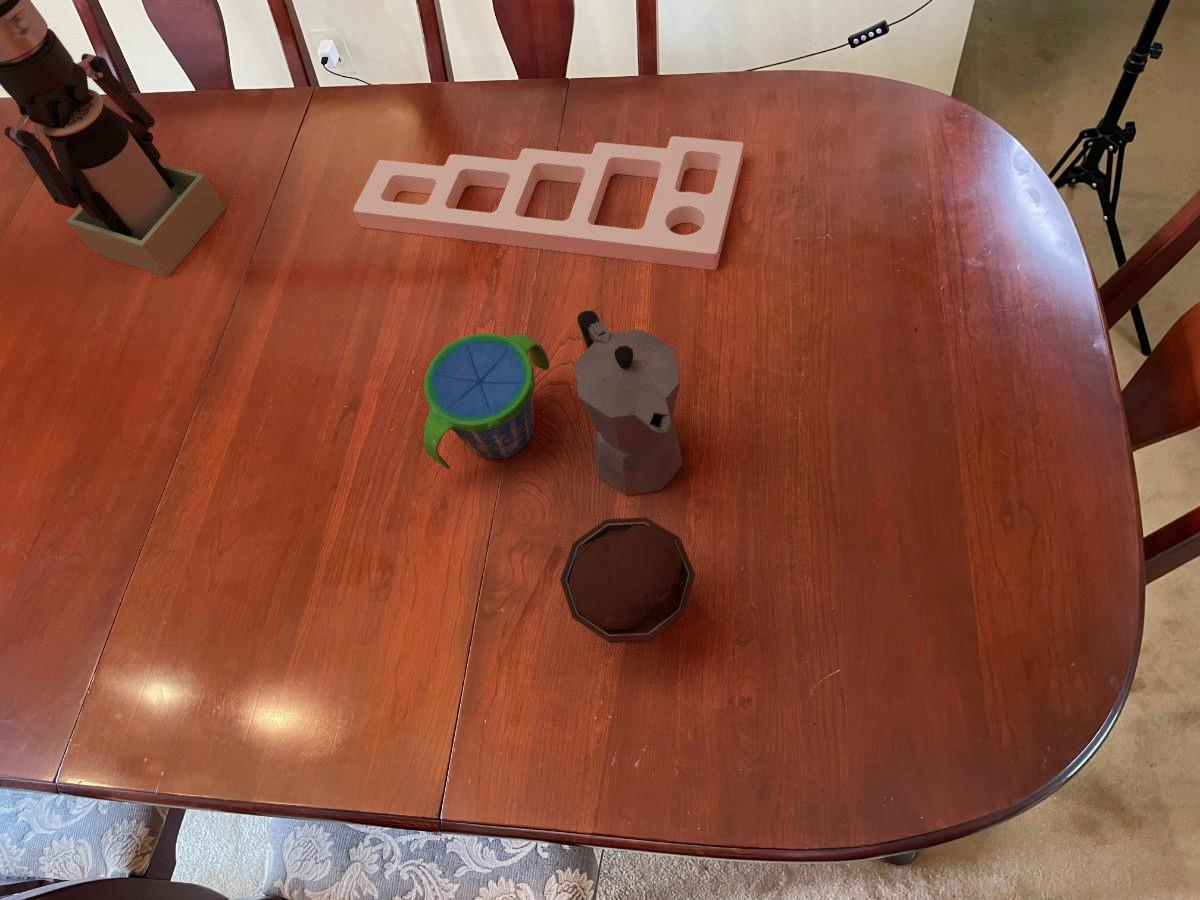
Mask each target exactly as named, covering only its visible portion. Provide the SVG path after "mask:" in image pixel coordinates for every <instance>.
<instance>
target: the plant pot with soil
mask: <svg viewBox="0 0 1200 900" xmlns="http://www.w3.org/2000/svg"><path fill="white" fill-rule="evenodd" d="M695 576H696V572H695V570H694V567H693V565H692V563H691V560H690V558H689V556H688V553H687V551H686V548H685V546H684V544H683V541H682V538H681V537H680V536H678V535H676V534H675V533H673V532H672V531H669V530H668V529H666V528H665V527H663V526H661V525H660V524H658V523H656V522H655V521H653V520H652V519H650V518H648V517H627V518H625V517H624V518H610V519H609V518H607V519H604V520H603V521H601V522H600V523H599V524H597V525H596V526H594V527H593V528H591V529H590V530H589V531H587V532H586V533H585V534H583V535H582V536H580V537H579V538H578V539H577V540H575V541H573V542H572V545H571V548H570V551H569V554H568V556H567V559H566V561H565V565H564V568H563V570H562V573H561V575H560V579H559V581H560V584H561V587H562V591H563V593H564V596H565V600H566V602H567V606H568V609H569V611H570V615H571V618H572V619H573V620H575V621H576V622H577V623H579V624H581V625H582V626H583V627H585V628H586V629H588V630H590V632H592V633H594V634H596V635H597V636H599V637H600V638H601V639H603V640H604V641H606V642H608V643H609V644H623V643H628V644H629V643H647V642H648V643H649V642H652V641H653V640H654V639H656V638H657V637H658V636H660V635H661V634H662V633H664V632H665V631H666V630H667V629H669V628H670V627H671V626H672V625H673V624H675V623H676V622H678V621H679V620H680V619H682V618H683V616H684V615H685V613H686V609H687V605H688V601H689V598H690V593H691V591H692V587H693V584H694V581H695V580H694V579H695Z"/></svg>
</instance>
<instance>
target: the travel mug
mask: <svg viewBox="0 0 1200 900" xmlns="http://www.w3.org/2000/svg"><path fill="white" fill-rule="evenodd" d="M88 89H89V95H91V96H93V97H94V98H93V99H92V100H91V101H90V102H89V103H88V104H87V105H84V104H82V105H81V106H80V107H79V108H78V109H77V110H76V111H75V112H74V113H73V114H72V115H71V116H70V120H71V121H70V122H69V123H68V124H67V125H66V126H65V127H64V128H63V129H62V128H59V127H57V128H51V127H47V126H44V125H40V124H37V123H36V124H35V127H36V128H37V130H38V131H39V132H40V133H41V134H44V135H45V134H46V135H48V136H49V137H50V138H51V139H53V140H54V141H56V142H63V141H64V140H65V139H68V141H69V143H68V146H69V150H70V154H71V158H72V160H73V161H74V162H75V164H76V165H77V166H78V167H79V168H80V169H81V171H82V172H83V173H84V174H85V176H86V178H87V181H88V184H89V187H90V190H91V191H92V192H97V193H100V194H101V196H102V197H103V198H104V199H105V200H106V202H107V203H108V204H109V205H110V207H111V208H112V209H113V210H114V211H115V213H116V214H117V215H118V216H119V217H120V219H121V220H122V221H123V222H124V224H125V225H126V226H127V227H128V228H129V230H130V231H131V232H132V234H131V235H130V236H129V237H132V238H135V239H138V240H142V239H143V238H144V237H145V236H146V234H147V233H148V232H149V231H150V230H151V229H152V228H153V227H154V225H155V224H156V223H157V222H158V221H159V220H160V219H161V217H162V216H163V215H164V214H165V213H166V212H167V211H168V209H169V208H170V207H171V206H172V205H173V204H174V203H175V202H176V200H177V198H176V196H175V195H174V193H173V192H172V191H171V189H170V188H169V187H168V185H167V184H166V182H165V181H164V180H163V178H162V177H161V175H160V174H159V173H158V171H157V170H156V168H155V167H154V166H153V164H152V163H151V161H150V160H149V159H148V157H147V156H146V155H145V153H144V152H143V150H142V149H141V148H140V146H139V145H138V143H137V142H136V141H135V139H134V138H133V136H132V135H131V134H130V132H129V131H128V129H127V128H126V127H125V125H124V124H123V123H122V121H121V120H120V118H119V117H118V116H117V115H116V114H114V113H112V112H110V111H108V110H106V109H105V107H104V106H103V103H104V100H103V97H102V95H100V93H99V92H97V91H96V90H94V89H90V88H88Z"/></svg>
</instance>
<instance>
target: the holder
mask: <svg viewBox="0 0 1200 900" xmlns="http://www.w3.org/2000/svg"><path fill="white" fill-rule="evenodd" d="M743 161H744V142H742V141H733V140H732V141H731V140H722V139H721V140H720V139H712V138H711V139H709V138H700V137H699V138H698V137H689V136H679V135H678V136H676V135H673V136H671V137H670V138H669V141H668V145H667V147H657V146H656V147H655V146H645V145H644V146H643V145H632V144H622V143H612V142H600V141H599V142H596V143H594V147H593V150H592V152H591V153H580V152H570V151H569V152H568V151H557V150H550V149H549V150H547V149H538V148H528V147H524V148H522V149H521V151H520V153H519V156H518V158H517V159H507V158H498V157H497V158H496V157H487V156H486V157H485V156H477V155H466V154H455V153H452V154H450V155H448V158H447V160H446V162H445V163H444V165H437V164H426V163H416V162H407V161H397V160H386V159H379V160H378V161H377V163H376V164H375V166H374V168H373V170H372V172H371V174H370V176H369V177H368V179H367V182H366V184H365V186H364V187H363V189H362V191H361V193H360V195H359V197H358V199H357V201H356V202H355V205H354V207H353V209H352V210H353V213H354V214H355V217H356V219H357V221H358V222H359V225H360V227H361V228H366V229H373V230H374V229H375V230H383V231H389V232H398V233H407V234H414V235H422V236H430V237H440V238H446V239H447V238H448V239H456V240H463V241H472V242H480V243H488V244H496V245H503V246H504V245H505V246H511V247H521V248H529V249H537V250H545V251H552V252H553V251H554V252H562V253H570V254H576V255H577V254H578V255H584V256H585V255H586V256H593V257H603V258H610V259H619V260H627V261H635V262H642V263H643V262H644V263H651V264H658V265H659V264H660V265H667V266H674V267H675V266H677V267H684V268H692V269H699V270H701V269H702V270H708V271H709V270H710V271H715V270H717V269H718V266H719V261H720V258H721V253H722V249H723V245H724V240H725V236H726V233H727V228H728V225H729V220H730V216H731V211H732V207H733V203H734V199H735V195H736V191H737V187H738V183H739V179H740V174H741V170H742V166H743ZM690 169H694V170H695V169H697V170H705V171H707V170H708V171H714V172H715V171H716V177H715V180H714V184H713V188H712V191H711V192H709V193H705V194H703V193H700V192H695V191H680V189H681V186H682V183H683V178H684V175H685V172H686V171H687V170H690ZM614 175H624V176H625V175H626V176H633V177H635V176H636V177H645V178H654V179H657V181H656V185H655V188H654V191H653V195H652V198H651V201H650V203H649V207H648V210H647V214H646V218H645V221H644V224H643V226H642V227H641V228H637V229H634V228H625V227H618V226H617V227H616V226H609V225H608V226H607V225H599V224H595V223H596V220H597V217H598V214H599V211H600V209H601V205H602V202H603V200H604V197H605V193H606V190H607V188H608V185H609V181H610V178H611V177H613V176H614ZM543 180H544V181H555V182H565V183H571V184H572V183H574V184H580V186H579V188H578V192H577V194H576V198H575V201H574V203H573V206H572V208H571V211H570V214H569V216H568V218H567V219H565V220H556V219H547V218H538V217H530V216H525V214H526V211H527V208H528V206H529V204H530V201H531V199H532V196H533V194H534V191H535V189H536V186H537V184H538V182H540V181H543ZM470 186H477V187H486V188H495V189H502V190H503V189H504V192H503V194H502V197H501V199H500V202H499V204H498V206H497V208H496V210H494V211H493V212H485V211H477V210H468V209H461V208H457V207H458V204H459V202H460V200H461V197H462V195H463V193H464V191H465V189H466V188H467V187H470ZM401 192H410V193H418V194H427V195H430V196H429V198H428V200H427V201H426V202H425V203H423V204H417V203H408V202H407V203H406V202H400V201H395V200H396V197H397V195H398V194H399V193H401ZM680 224H693V225H696V226H697V227H699V228H700V229H698V230H697V231H695V232H693V233H689V234H679V233H675V232H674V231H672V230H671V229H672V228H673V227H675V226H677V225H680Z"/></svg>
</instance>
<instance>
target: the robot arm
mask: <svg viewBox="0 0 1200 900" xmlns="http://www.w3.org/2000/svg"><path fill="white" fill-rule="evenodd" d="M80 58H81V59H80V61H79V62H75V61H74V58H73V57H72V55H71V53H70V52H69V51H68V49H67V48H66V46H64V44H63V42H62V41H61V40H60V38H59V36H57V34H56V33H55V31H53V29H51V28H49V27H48V23H47V22H46V20H45V18H44V17H43V15H42V14H41V13H40V11H39V10H38V9H37V7H36V5H34V3H33V2H32V0H0V86H1V87H2V89H3V90H4V91H5V92H6V93H7V94H8V95H9V96H10V97H11V98H12V99H13V100H14V101H15V103H16V104H17V107H18V111H19V113H20V115H21V117H20V118H19V119H18V120H17V122H16V123H15V125H14V126H9V125H8V126H6V127H5V129H4V136H5V137H6V138H8V139H9V140H10V141H11V142H12V143H14V144H15V145H16V146H17V147H19V148H20V151H21V152H22V153H23V156H25V158H26V159H27V161H28V163H29V164H30V167H32V169H33V171H34V172H35V174H36V175H37V177H38V178H39V180H40V181H41V183H42V184H43V186H44V187H45V189H46V191H47V192H48V194H49V195H50V197H51V198H52V200H53V202H54V203H55V204H57V205H60V206H64V207H67V208H71V209H78V208H79V207H80V206H81V207H82V208H83V209H84V211H85V212H86V213H87V214H88V215H89V216H90V217H91V218H93V219H95V220H98V221H102V222H104V223H105V224H106V226H107V227H108V228H109V229H110V230H111V231H113V232H116V233H119V234H122V235H125V236H128V237H129V236H130V235H131V234H132V232H131V231H130V230H129V228H128V227H127V226H126V225H125V224H124V222H123V221H122V220H121V219H120V217H119V216H118V215H117V214H116V213H115V211H114V210H113V209H112V208H111V207H110V205H109V204H108V203H107V202H106V200H105V199H104V198H103V197H102V196H101V194H100V193H97V192H92V191H91V190H90V187H89V184H88V181H87V178H86V176H85V174H84V173H83V172H82V171H81V169H80V168H79V167H78V166H77V165H76V164H75V162H74V161H73V160H72V158H71V154H70V150H69V146H68V143H69V141H68V139H65V140H64V141H63V142H56V141H54V140H53V139H51V138H50V137H49V136H48V135H46V134H44V136H45V138H46V139H47V140H48V141H49V143H50V147H51V149H52V153H53V154H54V158H55V161H56V162H55V161H54V159H53V157H52V156H51V154H50V152H49V151H48V149H47V148H46V147H45V145H44V144H43V143H42V142H41V141H40V140H41V135H40V134H38V133H39V132H37V130H36V128H35V127H36V123H37V124H40V125H44V126H47V127H51V128H57V127H59V128H62V129H63V128H64V127H65V126H66V125H67V124H68V123H69V122H70V121H71V120H70V116H71V115H72V114H73V113H74V112H75V111H76V110H77V109H78V108H79V107H80V106H81V105H82V104H84V105H87V104H88V103H89V102H90V101H91V100H92V99H93V98H94V97H93V96H91V95H89V89H90V88H89V82H88V79H91V80H92V81H93V82H94V83H95V84H96V86H98V88H99V89H101V90H102V92H103V93H105V95H106V96H107V97H108V98H109V99H110V100H111V101H112V102H113V103H114V104H115V105H116V106H117V107H118V108H119V109H120V110H121V111H122V112H123V113H124V114H125V115H126V116H127V118H129V119H130V120H129V119H127V118H126V117H124V116H123V115H122V114H121V115H120V113H118V112H117V111H115V110H113V109H111V108H110V107H108V106H106V104H105V103H104V102H103V106H104V107H105V109H106V110H108V111H110V112H112V113H114V114H116V115H117V116H118V117H119V118H120V120H121V121H122V123H123V124H124V125H125V127H126V128H127V129H128V131H129V132H130V134H131V135H132V136H133V138H134V139H135V141H136V142H137V143H138V145H139V146H140V148H141V149H142V150H143V152H144V153H145V155H146V156H147V157H148V159H149V160H150V161H151V163H152V164H153V166H154V167H155V168H156V170H157V171H158V173H159V174H160V175H161V177H162V178H163V180H164V181H165V182H166V184H167V185H168V187H169V188H170V189H172V188H173V187H174V186H175V184H174V183H173V181H172V180H171V178H170V177H169V176H168V174H167V173H166V171H165V170H164V169H163V167H162V166H161V164H160V163H161V162H160V160H161V159H162V157H161V154H160V152H159V150H158V149H157V148H156V146H155V145H154V143H153V140H154V134H153V133H152V132H150V131H149V130H150V128H152V127H154V126H155V124H156V121H155V118H154V117H153V115H151V113H149V112H148V110H146V108H145V107H144V106H143V105H142V104H141V103H140V102H139V100H137V99H136V97H134V96H133V94H131V92H130V91H129V90H128V89H127V88H126V87H125V86H124V85H123V83H121V82H120V81H119V79H118V78H117V77H116V76H115V75H114V74H113V72H112V70H111V68H110V66H109V63H108V62H107V60H106V59H105V57H104V56H103V57H102V56H98V55H94V54H90V53H87V52H86V53H83V54H82V55H81V57H80ZM159 162H160V163H159Z"/></svg>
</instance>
